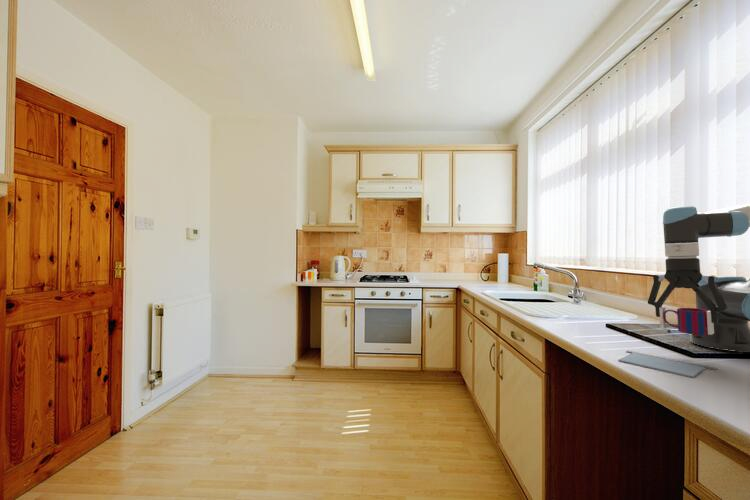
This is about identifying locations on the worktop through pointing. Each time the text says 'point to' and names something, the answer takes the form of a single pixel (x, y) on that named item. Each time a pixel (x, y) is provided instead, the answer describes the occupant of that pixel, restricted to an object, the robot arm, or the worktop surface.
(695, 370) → the mat
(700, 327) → the mug
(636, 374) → the worktop surface
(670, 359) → the line strip
